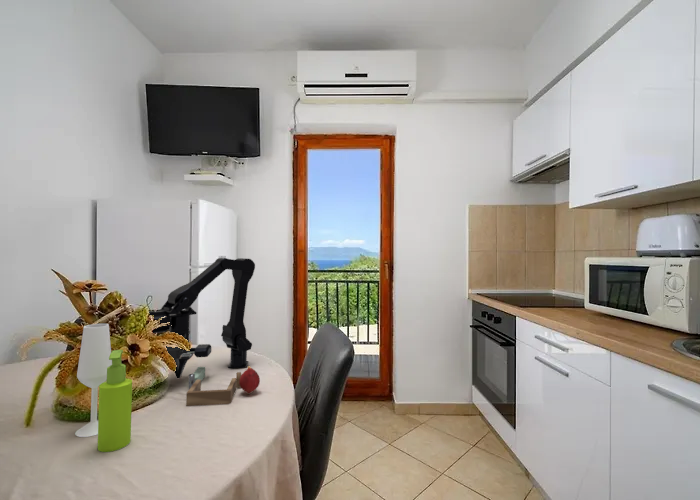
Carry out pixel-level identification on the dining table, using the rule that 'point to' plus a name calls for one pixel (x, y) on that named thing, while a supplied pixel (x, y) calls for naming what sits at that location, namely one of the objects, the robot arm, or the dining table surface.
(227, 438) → the dining table surface
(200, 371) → the leg bar
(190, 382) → the pin
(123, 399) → the soap dispenser
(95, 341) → the champagne flute
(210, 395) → the brown u-shaped frame
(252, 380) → the pomegranate
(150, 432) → the dining table surface
